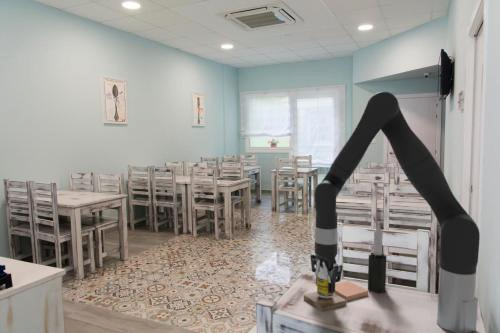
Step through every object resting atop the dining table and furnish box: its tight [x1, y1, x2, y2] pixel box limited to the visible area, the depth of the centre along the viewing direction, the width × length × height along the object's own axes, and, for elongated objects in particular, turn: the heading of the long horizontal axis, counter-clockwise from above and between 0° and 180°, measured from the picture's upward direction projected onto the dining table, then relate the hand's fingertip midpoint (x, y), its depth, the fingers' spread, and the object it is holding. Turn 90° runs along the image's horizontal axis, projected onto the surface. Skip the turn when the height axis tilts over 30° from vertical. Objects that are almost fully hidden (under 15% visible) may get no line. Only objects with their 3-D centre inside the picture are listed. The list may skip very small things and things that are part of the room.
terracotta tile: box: [334, 280, 369, 302], centre depth 129 cm, size 10×10×2 cm
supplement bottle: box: [316, 266, 333, 298], centre depth 121 cm, size 5×5×10 cm
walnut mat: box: [303, 291, 347, 312], centre depth 122 cm, size 10×10×2 cm
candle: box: [367, 222, 387, 295], centre depth 130 cm, size 5×5×25 cm
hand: (325, 289), depth 121 cm, fingers closed on supplement bottle, 5 cm apart
